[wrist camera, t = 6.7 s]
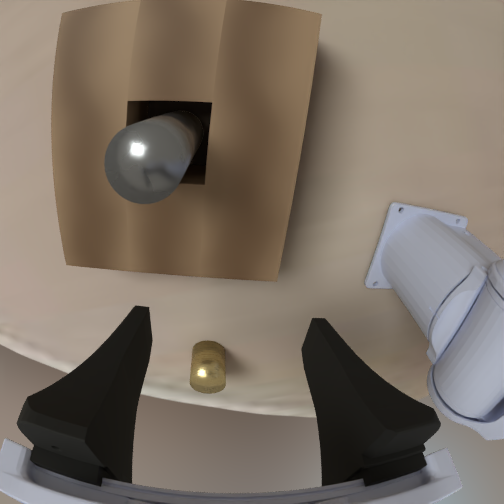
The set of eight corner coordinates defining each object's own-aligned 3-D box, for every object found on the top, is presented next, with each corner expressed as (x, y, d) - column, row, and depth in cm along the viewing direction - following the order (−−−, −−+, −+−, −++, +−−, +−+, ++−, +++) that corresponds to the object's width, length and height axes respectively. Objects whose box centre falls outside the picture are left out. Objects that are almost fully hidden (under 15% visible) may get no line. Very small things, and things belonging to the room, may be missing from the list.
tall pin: (205, 111, 17) (186, 122, 10) (201, 157, 19) (183, 205, 11) (156, 110, 17) (103, 123, 9) (155, 156, 19) (106, 203, 11)
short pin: (226, 341, 28) (226, 374, 24) (224, 362, 29) (224, 394, 26) (192, 339, 27) (189, 372, 24) (192, 360, 29) (190, 392, 25)
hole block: (301, 30, 15) (321, 14, 11) (268, 247, 23) (276, 281, 19) (93, 25, 13) (62, 13, 9) (90, 234, 21) (66, 264, 17)
